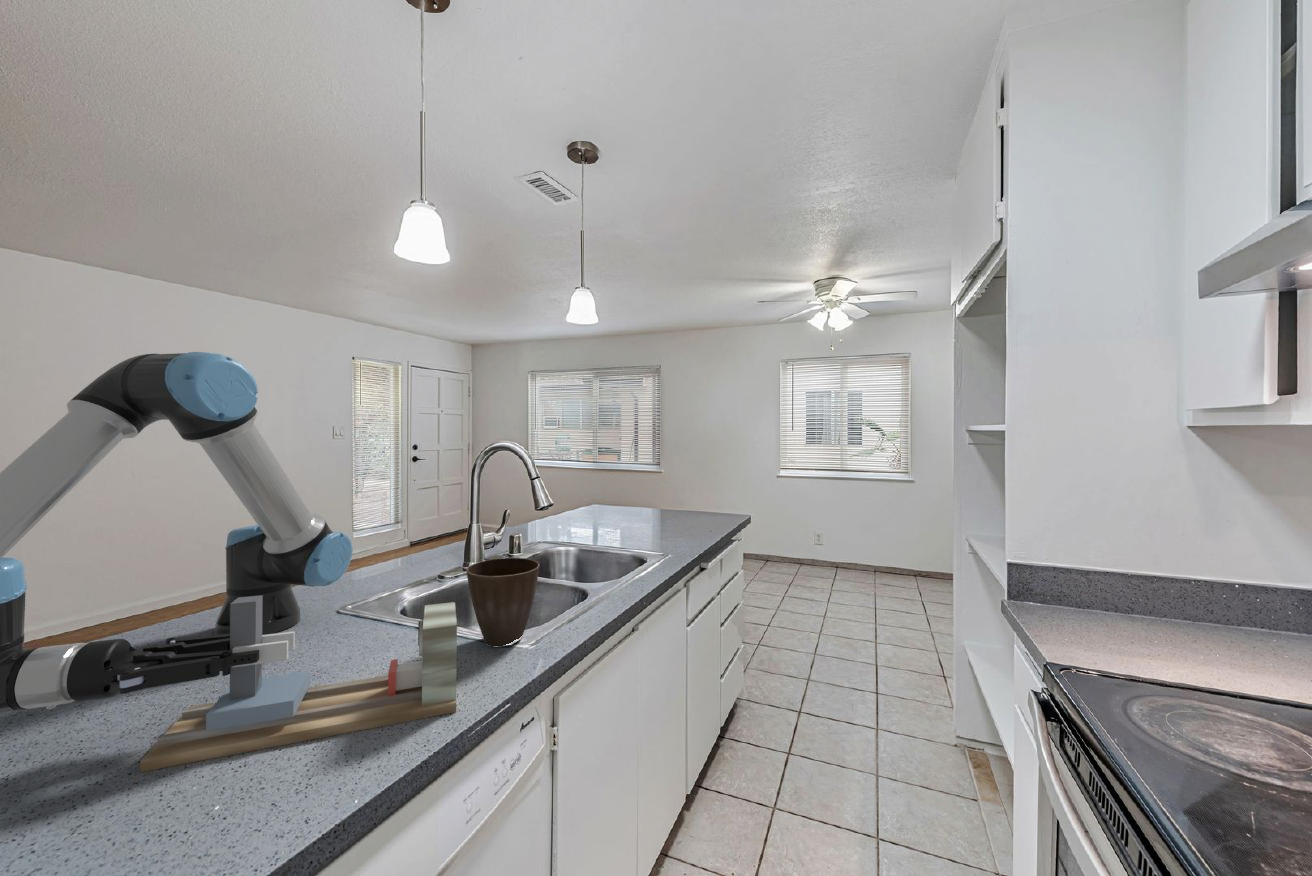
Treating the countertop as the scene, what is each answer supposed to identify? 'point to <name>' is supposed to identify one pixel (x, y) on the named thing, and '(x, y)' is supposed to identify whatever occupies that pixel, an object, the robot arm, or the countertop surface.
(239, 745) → the rail track
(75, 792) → the countertop surface
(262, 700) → the carriage
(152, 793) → the countertop surface
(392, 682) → the button
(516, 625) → the plant pot
